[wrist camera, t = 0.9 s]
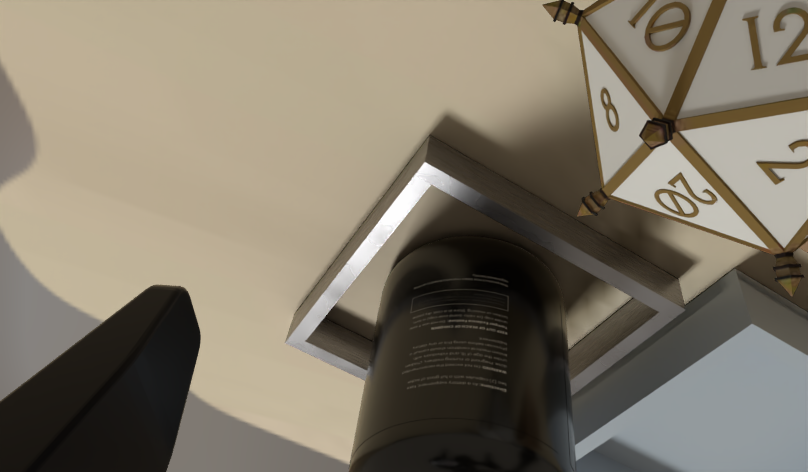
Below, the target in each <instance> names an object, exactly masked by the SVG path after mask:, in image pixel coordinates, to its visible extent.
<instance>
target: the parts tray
mask: <svg viewBox="0 0 808 472" xmlns="http://www.w3.org/2000/svg"><path fill="white" fill-rule="evenodd" d="M685 309H686V310H685V311H684V312H682V313H681V314H680V315H678V316H677V317H676V318H674V319H673V320H672V321H670V322H669V323H668V324H666V325H665V326H664V327H662V328H661V329H660V330H658V331H657V332H656V333H655V334H653V335H652V336H651V337H649V338H648V339H647V340H645V341H644V342H643V343H641V344H640V345H639V346H637V347H636V348H635V349H633V350H632V351H631V352H629V353H628V354H627V355H625V356H624V357H623V358H621V359H620V360H619V361H617V362H616V363H615V364H613V365H612V366H611V367H609V368H608V369H607V370H605V371H604V372H603V373H601V374H600V375H599V376H597V377H596V378H595V379H593V380H592V381H591V382H589V383H588V384H587V385H585V386H584V387H583V388H581V389H580V390H579V391H577V392H576V393H575V394H574V395H572V396H571V397H572V412H573V426H574V441H575V455H576V470H577V472H808V312H807V311H805V310H804V309H802V308H800V307H799V306H797V305H795V304H794V303H792V302H790V301H788V300H787V299H785V298H783V297H782V296H780V295H778V294H777V293H775V292H773V291H772V290H770V289H768V288H767V287H765V286H763V285H762V284H760V283H758V282H757V281H755V280H753V279H752V278H750V277H748V276H747V275H745V274H743V273H742V272H740V271H738V270H737V269H733V270H732V271H731V272H729V273H728V274H727V275H725V276H724V277H723V278H721V279H720V280H719V281H717V282H716V283H715V284H713V285H712V286H711V287H710V288H708V289H707V290H706V291H704V292H703V293H702V294H700V295H699V296H698V297H696V298H695V299H694V300H692V301H691V302H690V303H688V304H687V305H686V306H685Z"/></svg>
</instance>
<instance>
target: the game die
mask: <svg viewBox="0 0 808 472" xmlns="http://www.w3.org/2000/svg"><path fill="white" fill-rule="evenodd" d="M573 4H574V2H571V4H570V3H568V2H566V1H564V0H560V1H555V2H551V3H547V4H543V6H544V8H545V9H546V10H547V11H548V13H549V14H550V15H551V16H552V17H553V19H554V20H553V21H554V22H555V21H556V20H558V21H561V22H563V24H564V25H565V24H566V23H572V24H576V25H577V27H578V34H579V41H580V47H581V54H582V61H583V67H584V74H585V81H586V87H587V94H588V100H589V107H590V114H591V120H592V127H593V134H594V140H595V147H596V154H597V160H598V167H599V174H600V180H601V187H602V188H601V189H600V190H599V191H596V192H594V193H592V192H590V195H589V196H588V197H586V198H584V197H583V198H582V204H581V207H580V209H579V212H578V214H577V216H585V215H593V214H594V215H596V216H597V215H598V214H597V212H598V211H599V210H601V209H605V207H604V206H605V204H606V203H607V201H608V200H610V199H613V200H616V201H619V202H621V203H624V204H627V205H630V206H633V207H636V208H639V209H642V210H645V211H648V212H651V213H653V214H656V215H659V216H662V217H665V218H668V219H671V220H674V221H677V222H680V223H682V224H685V225H688V226H691V227H694V228H697V229H700V230H703V231H706V232H709V233H711V234H714V235H717V236H720V237H723V238H726V239H729V240H732V241H735V242H738V243H741V244H743V245H746V246H749V247H752V248H755V249H758V250H761V251H764V252H767V253H770V254H772V255H775V257H776V266H775V267H773V270H774V271H776V275H777V278H775V281H776V282H779V283H780V284H781V285H782V286H783V287H784V288H785V290H786V291H787V292H788V293H789V294H790V295H791V296H792V297H793V295H794V293H795V290H796V288H797V286H798V284H799V282H800V280H801V278H804V275H801V273H800V270H799V267H801V264H797V262H796V260H795V259H794V257H793V252H794V251H796V250H797V249H798V248H800V247H801V246H802V245H803V244H805V243H806V242H807V241H808V0H598V1H597V2H595V3H594V4H592V5H591V6H589V7H588V8H586V9H585V10H579V9H578V8H576V7H575V6H574V5H573Z"/></svg>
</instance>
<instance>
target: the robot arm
mask: <svg viewBox="0 0 808 472" xmlns="http://www.w3.org/2000/svg"><path fill="white" fill-rule="evenodd" d="M200 337H201V336H200V329H199V326H198V322H197V319H196V315H195V312H194V309H193V305H192V302H191V299H190V296H189V293H188V291H187V290H186V289H185V288H184V287H181V286H170V285H153V286H151V287H149V288H147V289H146V290H145V291H143V292H142V293H141V294H139V295H138V296H137V297H135V298H134V299H133V300H132V301H130V302H129V303H128V304H126V305H125V306H124V307H122V308H121V309H120V310H118V311H117V312H116V313H115V314H113V315H112V316H111V317H109V318H108V319H107V320H105V321H104V322H103V323H102V324H100V325H99V326H98V327H96V328H95V329H94V330H92V331H91V332H90V333H88V334H87V335H86V336H85V337H84V338H82V339H81V340H79V341H78V342H77V343H75V344H74V345H73V346H72V347H70V348H69V349H68V350H66V351H65V352H64V353H62V354H61V355H60V356H58V357H57V358H56V359H55V360H53V361H52V362H51V363H50V364H48V365H47V366H45V367H44V368H43V369H42V370H40V371H39V372H38V373H36V374H35V375H34V376H32V377H31V378H30V379H28V380H27V381H26V382H25V383H23V384H22V385H21V386H19V387H18V388H17V389H15V390H14V391H13V392H12V393H10V394H9V395H8V396H6V397H5V398H4V399H2V400H1V401H0V472H166V470H167V468H168V465H169V462H170V459H171V456H172V453H173V448H174V445H175V442H176V438H177V435H178V430H179V427H180V423H181V419H182V414H183V411H184V407H185V403H186V399H187V395H188V391H189V388H190V384H191V380H192V376H193V372H194V368H195V364H196V360H197V356H198V352H199V348H200Z"/></svg>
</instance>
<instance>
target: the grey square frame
mask: <svg viewBox="0 0 808 472" xmlns="http://www.w3.org/2000/svg"><path fill="white" fill-rule="evenodd" d="M430 185H433V186H435V187H437V188H438V189H440V190H442V191H444V192H446V193H447V194H449V195H451V196H453V197H455V198H456V199H458V200H460V201H462V202H463V203H465V204H467V205H469V206H471V207H472V208H474V209H476V210H478V211H480V212H481V213H483V214H485V215H487V216H488V217H490V218H492V219H494V220H496V221H497V222H499V223H501V224H503V225H505V226H506V227H508V228H510V229H512V230H513V231H515V232H517V233H519V234H521V235H522V236H524V237H526V238H528V239H530V240H531V241H533V242H535V243H537V244H538V245H540V246H542V247H544V248H546V249H547V250H549V251H551V252H553V253H555V254H556V255H558V256H560V257H562V258H563V259H565V260H567V261H569V262H571V263H572V264H574V265H576V266H578V267H580V268H581V269H583V270H585V271H587V272H588V273H590V274H592V275H594V276H596V277H597V278H599V279H601V280H603V281H605V282H606V283H608V284H610V285H612V286H614V287H615V288H617V289H619V290H621V291H622V292H624V293H626V294H628V295H630V296H631V297H633V299H632V300H631V301H629V302H628V303H627V304H626V305H624V306H623V307H622V308H621V309H620V310H618V311H617V312H616V313H615V314H613V315H612V316H611V317H610V318H608V319H607V320H606V321H605V322H604V323H602V324H601V325H600V326H599V327H597V328H596V329H595V330H594V331H592V332H591V333H590V334H589V335H588V336H586V337H585V338H584V339H583V340H581V341H580V342H579V343H578V344H576V345H575V346H574V347H573V348H572V349H570V350H569V351H568V354H569V368H570V383H571V396H572V395H574V394H575V393H576V392H577V391H579V390H580V389H581V388H583V387H584V386H585V385H587V384H588V383H589V382H591V381H592V380H593V379H595V378H596V377H597V376H599V375H600V374H601V373H603V372H604V371H605V370H607V369H608V368H609V367H611V366H612V365H613V364H615V363H616V362H617V361H619V360H620V359H621V358H623V357H624V356H625V355H627V354H628V353H629V352H631V351H632V350H633V349H635V348H636V347H637V346H639V345H640V344H641V343H643V342H644V341H645V340H647V339H648V338H649V337H651V336H652V335H653V334H655V333H656V332H657V331H658V330H660V329H661V328H662V327H664V326H665V325H666V324H668V323H669V322H670V321H672V320H673V319H674V318H676V317H677V316H678V315H680V314H681V313H682V312H684V311H685V310H686V309H685V305H684V300H683V296H682V292H681V287H680V283H679V279H677V278H675V277H674V276H672V275H670V274H668V273H667V272H665V271H663V270H662V269H660V268H658V267H656V266H655V265H653V264H651V263H649V262H648V261H646V260H644V259H643V258H641V257H639V256H637V255H636V254H634V253H632V252H630V251H629V250H627V249H625V248H624V247H622V246H620V245H618V244H617V243H615V242H613V241H611V240H610V239H608V238H606V237H605V236H603V235H601V234H599V233H598V232H596V231H594V230H592V229H591V228H589V227H587V226H586V225H584V224H582V223H580V222H579V221H577V220H575V219H573V218H572V217H570V216H568V215H567V214H565V213H563V212H561V211H560V210H558V209H556V208H554V207H553V206H551V205H549V204H548V203H546V202H544V201H542V200H541V199H539V198H537V197H535V196H534V195H532V194H530V193H529V192H527V191H525V190H523V189H522V188H520V187H518V186H516V185H515V184H513V183H511V182H510V181H508V180H506V179H504V178H503V177H501V176H499V175H497V174H496V173H494V172H492V171H491V170H489V169H487V168H485V167H484V166H482V165H480V164H478V163H477V162H475V161H473V160H472V159H470V158H468V157H466V156H465V155H463V154H461V153H459V152H458V151H456V150H454V149H453V148H451V147H449V146H447V145H446V144H444V143H442V142H440V141H439V140H437V139H435V138H434V137H432V136H429V137H428V138H427V140H426V141H425V142H424V143H423V145H422V146H421V147H420V149H419V150H418V151H417V153H416V154H415V155H414V157H413V158H412V159H411V161H410V162H409V163H408V165H407V166H406V167H405V169H404V170H403V171H402V173H401V174H400V175H399V177H398V178H397V179H396V181H395V182H394V183H393V185H392V186H391V187H390V189H389V190H388V191H387V192H386V194H385V195H384V196H383V198H382V199H381V200H380V202H379V203H378V204H377V206H376V207H375V208H374V210H373V211H372V212H371V214H370V215H369V216H368V218H367V219H366V220H365V222H364V223H363V224H362V226H361V227H360V228H359V230H358V231H357V232H356V234H355V235H354V236H353V238H352V239H351V240H350V242H349V243H348V244H347V245H346V247H345V248H344V249H343V251H342V252H341V253H340V255H339V256H338V257H337V259H336V260H335V261H334V263H333V264H332V265H331V267H330V268H329V269H328V271H327V272H326V273H325V275H324V276H323V277H322V279H321V280H320V281H319V283H318V284H317V285H316V287H315V288H314V289H313V291H312V292H311V293H310V294H309V296H308V297H307V298H306V300H305V301H304V302H303V304H302V305H301V306H300V308H299V309H298V310H297V312H296V313H295V314H294V317H293V320H292V323H291V326H290V329H289V332H288V335H287V338H286V341H285V343H286V344H288V345H290V346H292V347H294V348H297V349H299V350H301V351H303V352H305V353H307V354H309V355H311V356H314V357H316V358H318V359H320V360H322V361H324V362H326V363H329V364H331V365H333V366H335V367H337V368H339V369H341V370H343V371H346V372H348V373H350V374H352V375H354V376H356V377H358V378H361V379H363V380H366V375H367V370H368V364H369V359H370V354H371V348H372V343H373V342H372V341H370V340H368V339H366V338H364V337H362V336H359V335H357V334H355V333H353V332H351V331H349V330H347V329H345V328H343V327H341V326H339V325H337V324H335V323H333V322H331V321H329V320H327V319H324V317H325V316H326V315H327V314H328V312H329V311H330V310H331V309H332V307H333V306H334V305H335V304H336V302H337V301H338V300H339V299H340V297H341V296H342V295H343V294H344V292H345V291H346V290H347V289H348V287H349V286H350V285H351V284H352V282H353V281H354V280H355V279H356V278H357V276H358V275H359V274H360V273H361V271H362V270H363V269H364V268H365V266H366V265H367V264H368V263H369V261H370V260H371V259H372V258H373V256H374V255H375V254H376V253H377V251H378V250H379V249H380V248H381V246H382V245H383V244H384V243H385V241H386V240H387V239H388V238H389V236H390V235H391V234H392V233H393V231H394V230H395V229H396V228H397V226H398V225H399V224H400V223H401V221H402V220H403V219H404V218H405V216H406V215H407V214H408V213H409V212H410V210H411V209H412V208H413V207H414V205H415V204H416V203H417V202H418V200H419V199H420V198H421V197H422V195H423V194H424V193H425V192H426V190H427V189H428V188H429V187H430Z"/></svg>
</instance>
